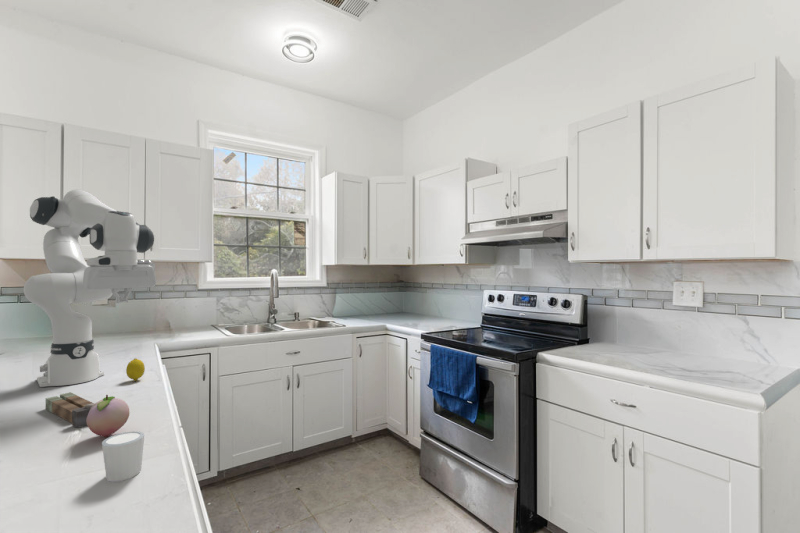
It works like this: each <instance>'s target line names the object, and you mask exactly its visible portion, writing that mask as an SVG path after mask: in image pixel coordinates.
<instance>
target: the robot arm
mask: <svg viewBox="0 0 800 533" xmlns="http://www.w3.org/2000/svg"><path fill="white" fill-rule="evenodd" d="M29 217H30V219H31V221H32V222H34V223H36V224H39V225H42V226H46V227H47V226H48V227H51V228H52V229H50V230H48V231H46V233H45V234H44V237H43V243H42V244H43V247H42V248H43V254H44V260H45V264H46V268H47V269H48V270H49V272H50V273H49V272H47V273H42V274H36V275H31V276H30V277H29V278H28V279H27V280H26V281H25V283H24V286H23V294H24V296H25V299H26V300H28V301H29V302H30V303H31V304H34V305H36V306H38V307H39V308H40V309H42V310H43V312H45V314H46V315H47V316H48V318H49V321H50V322H51V323H50V324H51V330H52V343H51V346H50V353H49V354H50V355H49V357H48V358H47V360H46V362H44V363H43V365H40V366H39V372H40V373H43V374H42V375H39V376H37V377H36V382H37V384H38V387H39V388H45V387H56V386H57V387H59V386H68V385H69V386H70V385H76V384H81V383H87V382H90V381H93V380H96V379H97V378H100V377H101V376H105V372H104V371H100V356H99V354H98V353H97V352H96V351H94V349H95V342H94V341H95V340H94V339H93V321H92V318H91V317H90V316H88V315H87V314H85V313H81V312H78V311H75V310H74V309H72V306H71V304H79V303H93V302H94V303H95V302H99V301H100V302H101V301H105V300H108V299H111V297H112V296H113V297H115V303H116V304H117V303H118V304H121V303H128V302H129V296H130V294H132V292H133V290H132V289H137V288H154V287H155V286H156V285H157V279H156V264H155V263H154V262H153V261H151V260H138V253H141V254H144V253H146V252H147V251H149V250H150V249H151V248H152V247H153V245H154V242H155V235H154V232H153V231H152V230H151V229H150V228H149V227H148V226H147V225H146V224H140V223H138V222H137V221H136V218H135V215H134V214H132V213H131V212H127V211H119V210H116V209H115V208H113V207H110V206H109V205H107V204H105V203H104V202H103V201H100V199H98V197H96V196H95V195H94V194H92V193H90V192H89V191H86V190H83V189H72V190H70V191H68V192H66V193H65V195H64V196H63V198H57V197H55V196H49V197H48V196H45V197H44V196H41V197H39V198H38V197H37V198H36V199H34V200H33V202H31V204H30V207H29ZM88 235H89V244H90V245H91V246H92V247H93V248H95V250H97V251H101V252H104V255H99V256H97V257H92V258H87V259H86V260H85V257H84V255H83V252H82V249H81V245H80V243H79V237H81V238H87V237H88ZM120 289H123V291H124V292H125V293H124V295H123V296H120V295H119V293H120Z"/></svg>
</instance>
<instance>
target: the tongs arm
mask: <svg viewBox="0 0 800 533" xmlns="http://www.w3.org/2000/svg"><path fill="white" fill-rule="evenodd" d="M59 397H60V398H62V399H63V400H65V401H67V402H69V403H71V404H73V405H76V406H78V407H80V408H82V407H85V405H87V404H95V402H92V401H89V400H88V399H85V398H83V397H81V396H79V395H77V394H75V393H73V392H71V391H70V392H65V393H60V394H59Z"/></svg>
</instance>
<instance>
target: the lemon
mask: <svg viewBox="0 0 800 533" xmlns="http://www.w3.org/2000/svg"><path fill="white" fill-rule="evenodd" d="M125 370H126V372H125V373H126V376H127V377H128V378H129V379H131V380H133V381H134V382H136V381H138V380H139V379H140V378H142V377H143V375H144V374H145V371H146V370H145V364H144V362H143V361H142V360H141V359H138V358H133V359H132V360H130V362H128V363H127V366H126V367H125Z"/></svg>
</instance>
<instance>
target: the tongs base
mask: <svg viewBox="0 0 800 533" xmlns="http://www.w3.org/2000/svg"><path fill="white" fill-rule="evenodd" d="M94 404H95V403H94ZM94 404H87V405H85V407H82V408H80V407H78V406H76V405H73V404H71V403H69V402H67V401H65V400H63V399H62V398H60V396H58V395H54V396H51V397H46V398H45V410H46V411H48V412H50V413H53V414H54V415H56V416H58V417H60V418H61V419H64V420H65V421H67V422H69V423H71V424H72V426H73V427H74V428H76V429H78V428H83V427H87V426H88V425H87V422H86V419H87V416H88V413H89V411H90V409H91V407H92V406H93V405H94Z"/></svg>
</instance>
